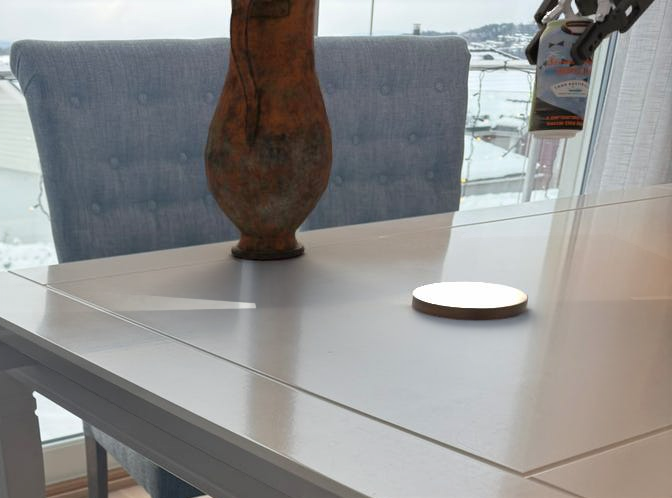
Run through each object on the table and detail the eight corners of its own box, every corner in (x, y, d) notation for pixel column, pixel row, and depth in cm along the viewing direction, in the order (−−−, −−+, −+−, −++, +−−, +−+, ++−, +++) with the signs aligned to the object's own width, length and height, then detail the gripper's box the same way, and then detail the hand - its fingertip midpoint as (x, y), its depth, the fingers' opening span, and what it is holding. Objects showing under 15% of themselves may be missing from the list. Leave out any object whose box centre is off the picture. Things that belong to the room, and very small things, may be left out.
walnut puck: (505, 310, 98) (509, 280, 96) (537, 339, 89) (543, 306, 87) (400, 313, 98) (403, 283, 96) (422, 341, 89) (425, 309, 87)
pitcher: (342, 244, 131) (358, -17, 115) (299, 275, 114) (311, -24, 98) (231, 238, 136) (231, -11, 120) (175, 267, 120) (166, -17, 103)
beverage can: (536, 144, 107) (556, 18, 100) (515, 137, 113) (533, 18, 106) (590, 142, 107) (614, 16, 100) (566, 135, 113) (587, 16, 106)
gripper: (584, -94, 106) (491, 33, 108) (696, -111, 95) (591, 30, 97) (607, -36, 111) (517, 84, 113) (715, -46, 100) (615, 87, 102)
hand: (552, 59), depth 105 cm, fingers closed on beverage can, 6 cm apart
